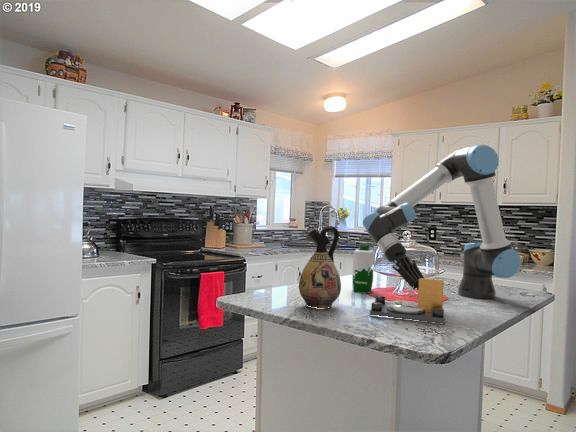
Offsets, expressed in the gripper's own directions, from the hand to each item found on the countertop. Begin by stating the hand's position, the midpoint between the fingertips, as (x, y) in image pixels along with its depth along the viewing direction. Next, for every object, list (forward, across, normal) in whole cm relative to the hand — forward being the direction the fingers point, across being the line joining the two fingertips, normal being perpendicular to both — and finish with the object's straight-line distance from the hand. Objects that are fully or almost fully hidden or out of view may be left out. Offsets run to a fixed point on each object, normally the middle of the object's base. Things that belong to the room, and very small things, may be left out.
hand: (431, 301), depth 152 cm
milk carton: (-25, -17, -34) cm, 45 cm away
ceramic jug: (-19, +20, -27) cm, 39 cm away
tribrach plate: (-1, +4, -8) cm, 10 cm away
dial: (-1, +5, -5) cm, 7 cm away
